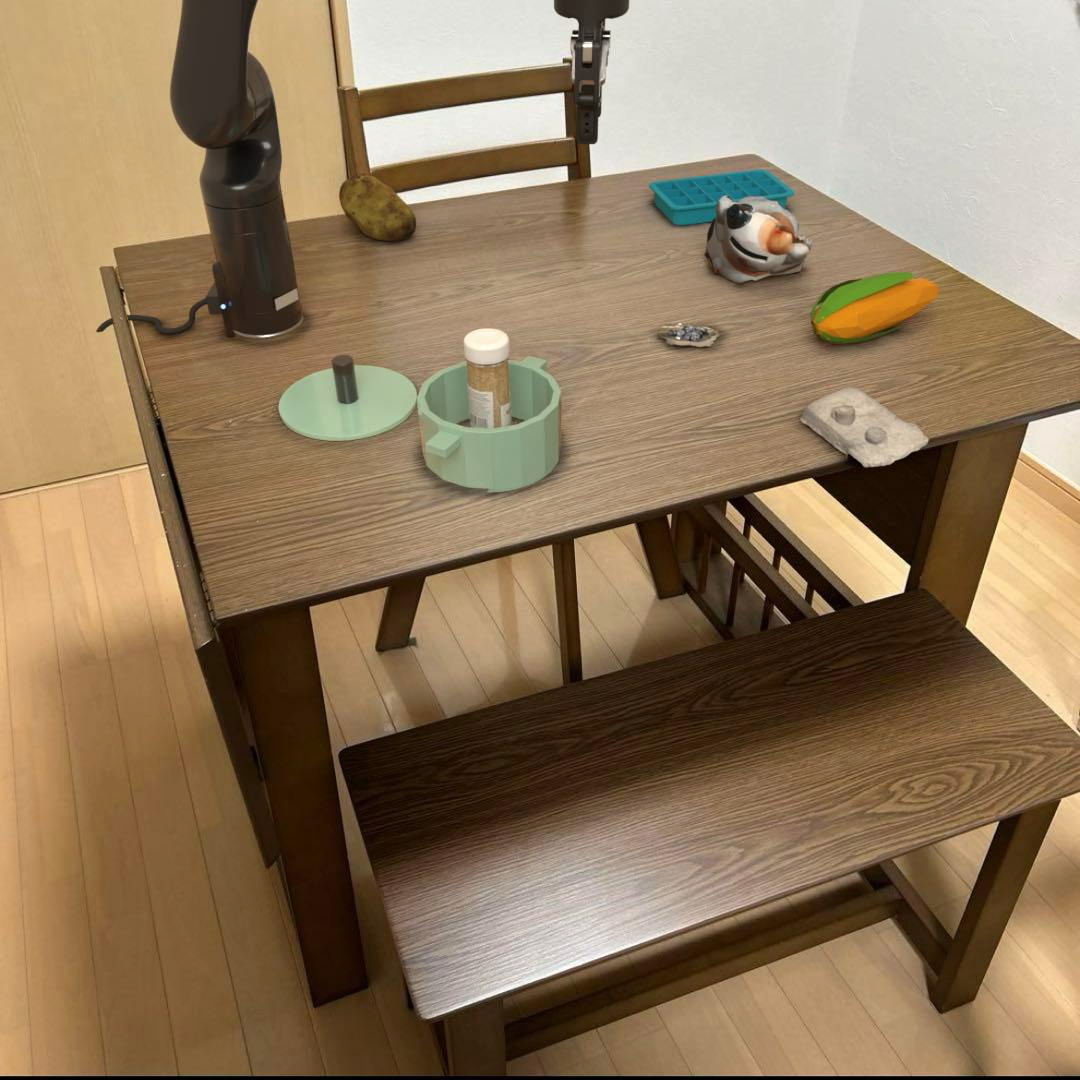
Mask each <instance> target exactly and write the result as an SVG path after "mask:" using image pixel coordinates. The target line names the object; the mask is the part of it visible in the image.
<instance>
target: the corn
mask: <svg viewBox="0 0 1080 1080" xmlns="http://www.w3.org/2000/svg"><path fill="white" fill-rule="evenodd" d="M913 277H914V273H913V272H909V271H908V272H907V271H905V272H903V271H901V272H900V271H899V272H898V271H897V272H895V271H894V272H885V273H880V274H876V275H872V276H867V277H865V278H857V279H848V280H846V281H843V282H841V283H838V284H835V285H833V286H830V287H829V288H828V289H826V290H825V291H824V292H823V293H822V294H820V296H819V297H818V298H817V300H816V301H815V303H814V304H813V306H812V308H811V310H810V314H809V316H810V324H811V327H812V331H813V334H814V335H815V336H817V337H819V338H820V339H821V340H822V341H825V342H827V343H829V344H833V345H834V344H838V345H839V344H853V343H860V342H865V341H869V340H872V339H876V338H878V337H881V336H885V335H888V334H890V333H892V332H894V331H896V330H898V329H901V328H904V327H906V326H907V325H908V323H904V324H902V325H900V326H896V325H898V324H899V323H902V322H904V321H905V320H907V319H908V318H911V317H912V316H914V315H915V314H917V313H918V312H919V311H921V310H922V309H923V308H925V307H926V306H928V305H929V304H930V303H932V302H933V301H935V300H936V299H937V298H938V295H939V289H940V286H939V285H937V284H936V283H934V282H932V281H931V280H929V279H927V278H924V277H923V278H913ZM818 305H819V306H818ZM817 306H818V307H817ZM895 326H896V327H895ZM889 328H890V329H889ZM882 331H883V332H882Z"/></svg>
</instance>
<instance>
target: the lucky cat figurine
mask: <svg viewBox="0 0 1080 1080" xmlns="http://www.w3.org/2000/svg"><path fill="white" fill-rule="evenodd" d="M715 212H716V217H715V218H714V219H713V220H712V221H711V223H710V225H709V227H708V230H707V234H706V246H705V247H706V248H705V252H704V254H703V256H704V257H705V258H706V259H707V260H708V261H709V264H710V265H711V269H712V273H714V274H716V275H719V276H721V277H723V278H725V279H727V280H730V281H732V282H733V283H736V284H743V283H745V282H747V281H752V280H753V281H759V280H760V279H763V278H766V277H772V276H780V275H781V276H782V275H788V274H793V273H801V271H802V270H803V269H804V263H805V259H806V258H807V255H808V254H809V253H810V251H811V249H812V245H813V240H812V239H811V240H810V239H809V238H808V236H807V235H801V234H799V229H800V227H799V226H800V224H799V222H798V220H797V218H796V217H795V216H794V214H793V213H792V212H790V211H789V210H788V209H787V208H785V209H783V208H782V207H781V205H780V203H779V202H777V201H770V200H768V199H766V198H764V197H759V196H748V197H744V198H742V199H740V200H738V201H737V202H734V201H732V200H731V199H730V197H729V196H728V195H725V196H723V197H721V198H720V199H718V201H717V205H716V209H715Z"/></svg>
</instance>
